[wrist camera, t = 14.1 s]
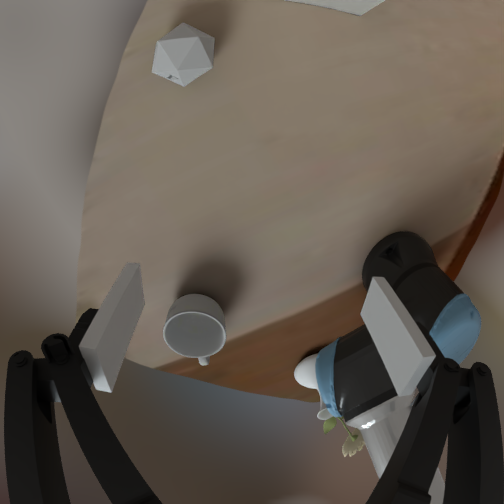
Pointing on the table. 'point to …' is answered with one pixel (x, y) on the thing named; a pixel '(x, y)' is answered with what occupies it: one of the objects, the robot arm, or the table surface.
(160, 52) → the die
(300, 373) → the flower in vase
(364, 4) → the white open box
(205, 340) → the teacup
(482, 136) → the table surface
